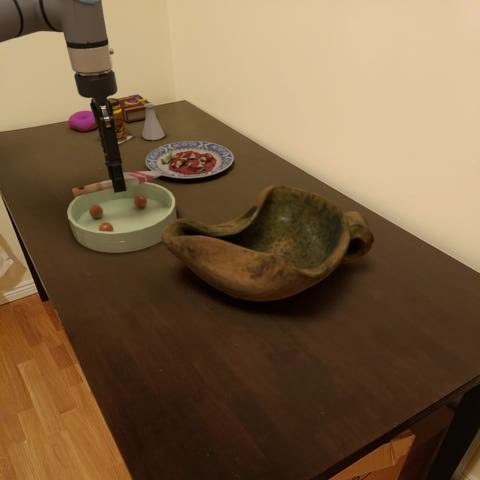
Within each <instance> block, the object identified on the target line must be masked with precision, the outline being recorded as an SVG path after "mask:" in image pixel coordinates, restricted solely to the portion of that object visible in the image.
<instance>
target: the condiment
mask: <svg viewBox="0 0 480 480" xmlns="http://www.w3.org/2000/svg"><path fill="white" fill-rule="evenodd" d="M107 101H110V104H112V107H113V111H114V114H113V117H114V122H115V130H116V135H117V140H118V145H120V144H122V143H124V142H126V141H128V140H130V139H131V138H133V135H127V131H126V124H125V121H124V119H123V112H122V109H121V108H120V104H119V100H118V98H116V97H115V98H114V97H109V98H108V97H107ZM99 140H100V141H101V139H100V138H99Z"/></svg>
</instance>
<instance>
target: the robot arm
mask: <svg viewBox="0 0 480 480" xmlns="http://www.w3.org/2000/svg"><path fill="white" fill-rule="evenodd" d="M102 1H103V0H0V44H2V43H4V42H7V41H11V40H13V39H17V38H21V37H24V36H28V35H32V34H35V33H38V32H49V33H50V32H53V33H63V37H64V40H65V44H66V46H65V47H66V48H67V49H66V50H67V55H68V58H69V63H70V67H71V70H72V71H73V72H75V73H74V75H73V78H74V82H75V87H76V90H77V94H78V95H79V96H80V97H82V98H85V99H90V102H89V106H90V111H92V112H93V115H94V119H95V122H96V125H97V127H96V128H97V131H98V135H99V140H100V139H101V140H100V146H101V148H102V151H103V153H104V160H105V161H104V164H105V167H106V169H107V172H108V173H107V174H108V177H109V180H112V185H113V189H114V193H118V192H123V191H127V190H126V185H125V180H124V175H123V173H124V170H123V160H122V157H121V151H120V146H119V144H118V140H117V135H116V130H115V122H114V117H113V114H114V111H113V107H112V104H110V101H107V99H108V97H111V96H114V95H116V94H117V93H118V83H117V77H116V73H115V71H114V70H113V67H114V64H113V58H112V56H111V55H114V54H115V51H114V49H113V48H110V44H109V37H108V32H107V27H106V20H105V15H104V7H103V2H102Z"/></svg>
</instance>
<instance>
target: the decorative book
mask: <svg viewBox="0 0 480 480" xmlns="http://www.w3.org/2000/svg"><path fill="white" fill-rule="evenodd" d="M117 99H118V100H119V104H120V108H121V109H122V112H123V119H124V122H126V123H131V122H136V121H142V120H145V119H146V109H145V107H144V105H145V104H148V103H151V104H153V103H152V102H151V101H148V99H147V98H144V97H143V96H142V95H140V94H139V93H138V94H132V95H128V96H125V97H120V98H119V97H117Z"/></svg>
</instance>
